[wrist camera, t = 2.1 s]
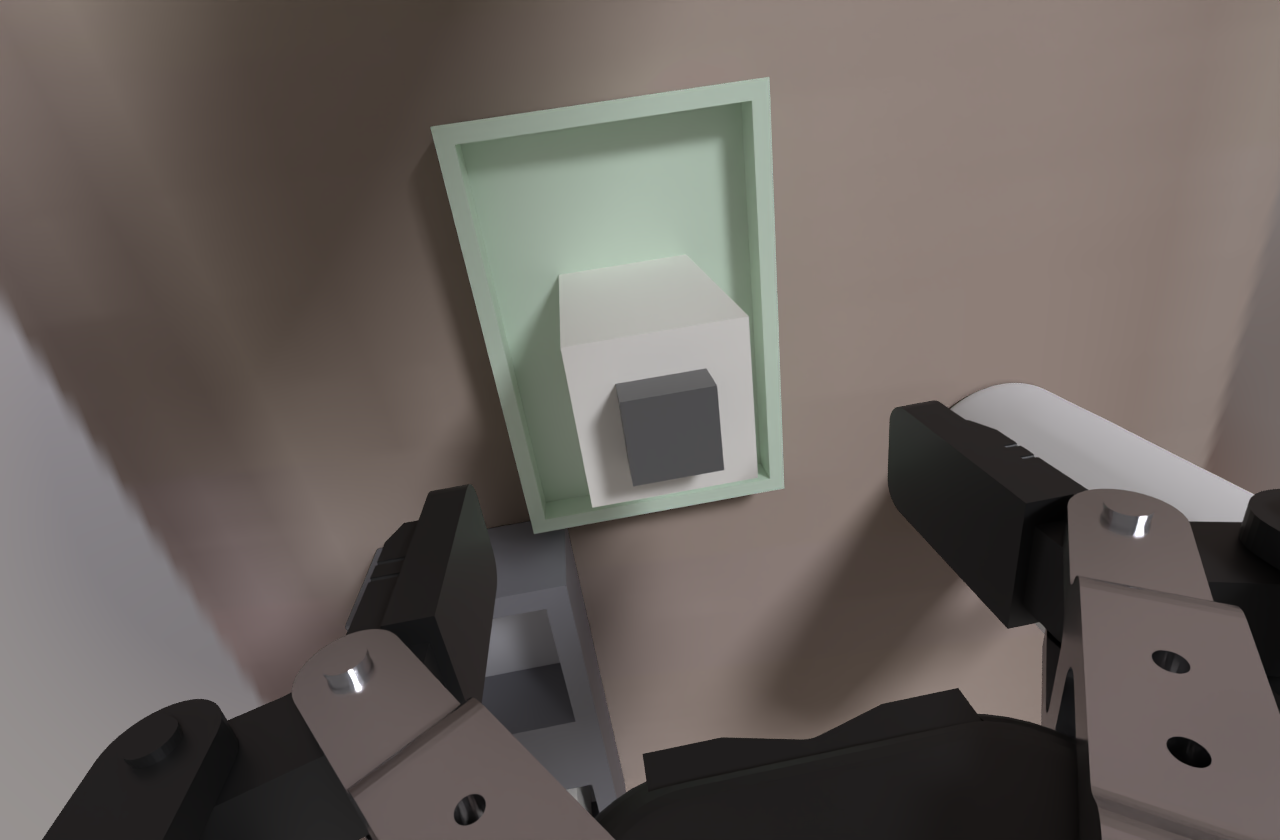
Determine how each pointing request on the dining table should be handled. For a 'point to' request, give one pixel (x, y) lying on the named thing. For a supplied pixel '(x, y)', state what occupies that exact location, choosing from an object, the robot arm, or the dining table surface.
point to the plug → (657, 379)
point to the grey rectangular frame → (546, 662)
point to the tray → (612, 255)
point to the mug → (1101, 452)
